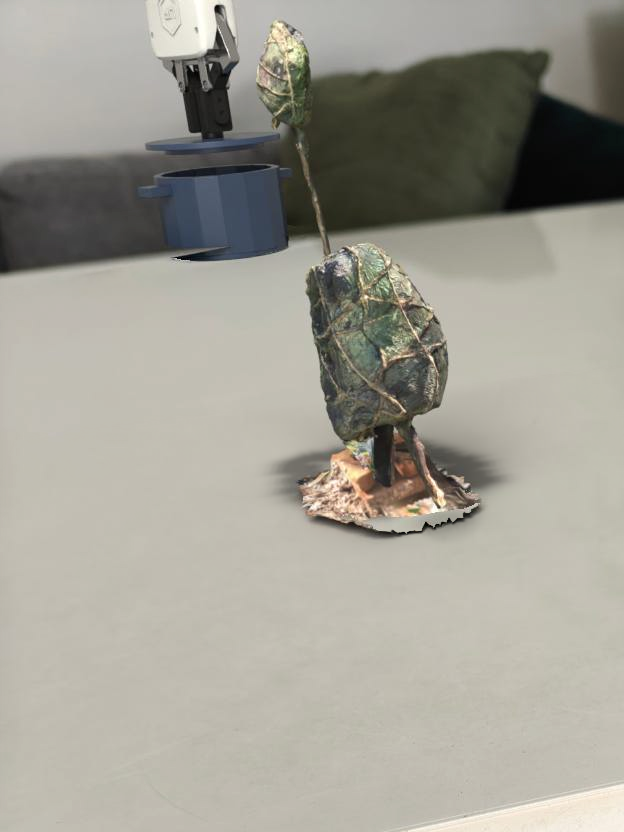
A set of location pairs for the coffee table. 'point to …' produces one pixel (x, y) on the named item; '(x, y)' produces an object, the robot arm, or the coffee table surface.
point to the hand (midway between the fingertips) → (211, 130)
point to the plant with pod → (364, 345)
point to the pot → (222, 210)
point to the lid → (211, 139)
